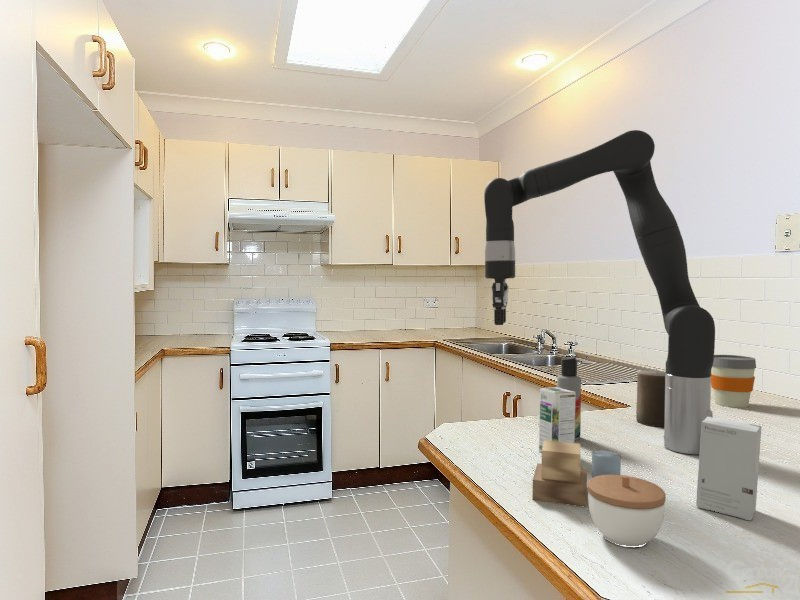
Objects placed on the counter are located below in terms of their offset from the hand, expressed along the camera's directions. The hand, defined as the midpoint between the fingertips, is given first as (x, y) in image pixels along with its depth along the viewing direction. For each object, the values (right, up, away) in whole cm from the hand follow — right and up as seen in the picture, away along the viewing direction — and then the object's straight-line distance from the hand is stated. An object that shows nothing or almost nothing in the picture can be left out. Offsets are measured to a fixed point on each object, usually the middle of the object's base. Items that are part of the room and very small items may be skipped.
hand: (500, 323), depth 133 cm
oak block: (+4, -26, -38) cm, 46 cm away
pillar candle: (+45, -28, +11) cm, 54 cm away
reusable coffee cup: (+79, -27, +33) cm, 90 cm away
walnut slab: (+4, -30, -38) cm, 48 cm away
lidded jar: (+8, -30, -54) cm, 62 cm away
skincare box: (+30, -30, -44) cm, 61 cm away
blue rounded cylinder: (+15, -29, -31) cm, 45 cm away
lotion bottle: (+16, -28, -3) cm, 33 cm away
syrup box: (+10, -29, -15) cm, 34 cm away
